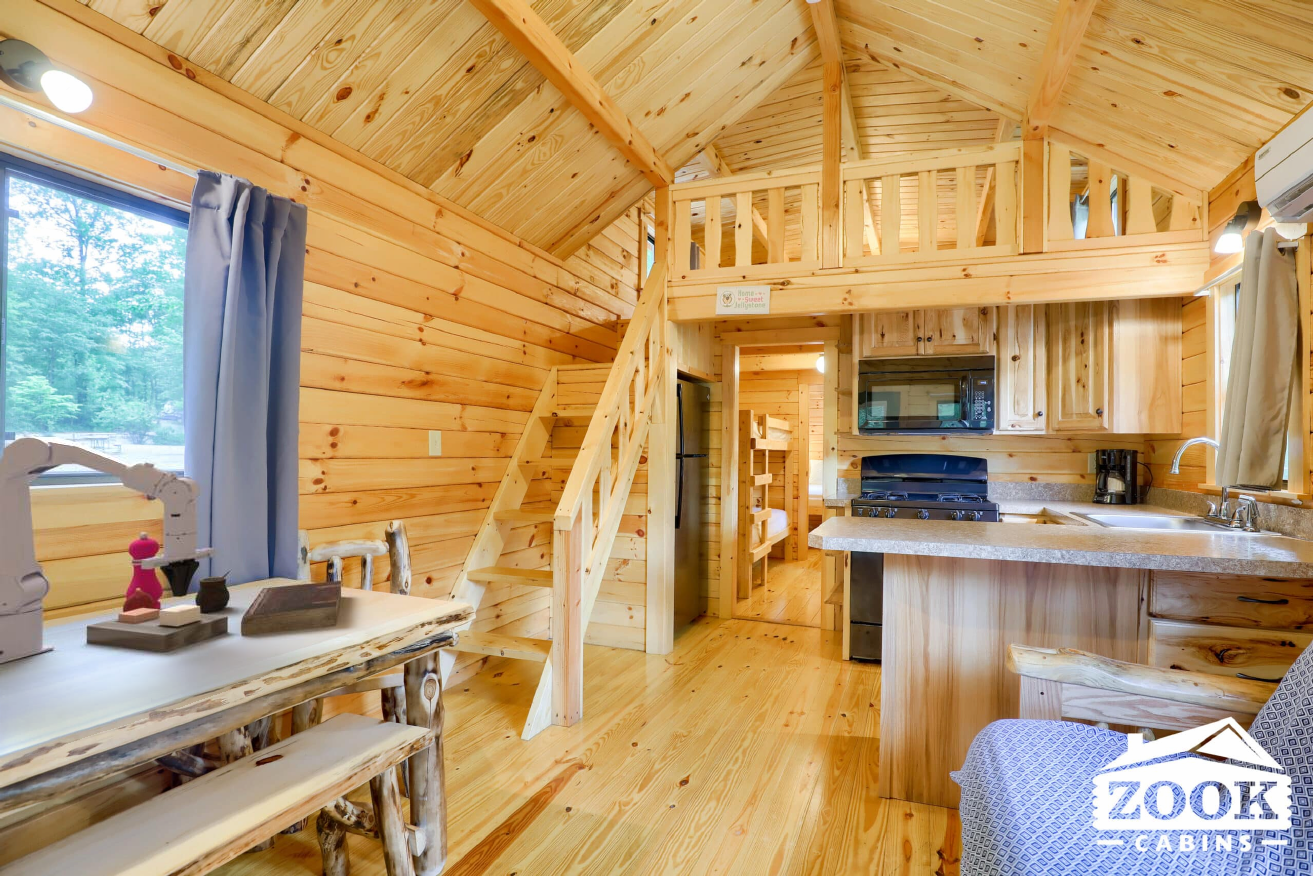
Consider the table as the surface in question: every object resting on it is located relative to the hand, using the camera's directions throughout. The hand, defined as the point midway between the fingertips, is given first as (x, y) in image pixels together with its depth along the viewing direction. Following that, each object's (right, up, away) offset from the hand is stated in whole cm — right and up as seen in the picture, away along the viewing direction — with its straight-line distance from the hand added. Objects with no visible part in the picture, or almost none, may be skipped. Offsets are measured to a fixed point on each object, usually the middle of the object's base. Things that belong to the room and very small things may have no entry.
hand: (179, 596), depth 136 cm
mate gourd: (-9, -10, +23) cm, 27 cm away
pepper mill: (-25, -10, +21) cm, 34 cm away
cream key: (0, -6, 0) cm, 6 cm away
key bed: (-6, -9, +1) cm, 11 cm away
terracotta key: (-11, -7, +3) cm, 14 cm away
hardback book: (+14, -10, +20) cm, 26 cm away
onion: (-19, -10, +12) cm, 25 cm away
